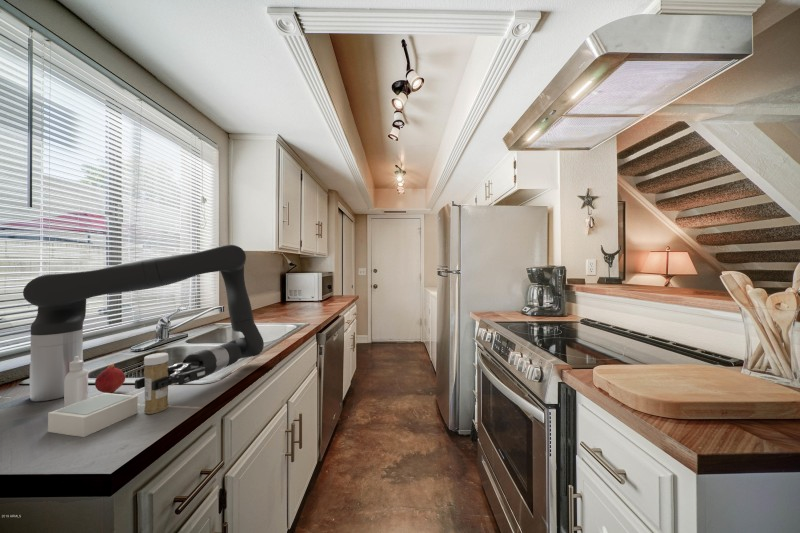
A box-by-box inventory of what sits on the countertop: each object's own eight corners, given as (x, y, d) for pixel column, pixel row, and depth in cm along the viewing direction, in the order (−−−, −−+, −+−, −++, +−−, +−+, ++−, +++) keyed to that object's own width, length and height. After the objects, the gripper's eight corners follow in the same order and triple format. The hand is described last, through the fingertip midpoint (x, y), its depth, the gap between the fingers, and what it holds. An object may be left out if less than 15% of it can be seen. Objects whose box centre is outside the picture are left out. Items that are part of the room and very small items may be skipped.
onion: (105, 399, 75) (105, 369, 75) (89, 397, 77) (89, 367, 77) (130, 390, 81) (130, 362, 81) (114, 388, 82) (114, 360, 82)
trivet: (47, 431, 60) (48, 412, 60) (105, 409, 70) (105, 392, 70) (84, 437, 58) (84, 416, 58) (137, 412, 68) (137, 395, 68)
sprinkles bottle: (167, 410, 69) (167, 355, 69) (142, 416, 66) (142, 358, 66) (169, 403, 73) (169, 350, 73) (145, 408, 70) (145, 354, 70)
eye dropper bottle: (96, 398, 76) (96, 353, 76) (71, 408, 70) (71, 360, 70) (81, 398, 76) (81, 353, 76) (54, 408, 71) (54, 359, 71)
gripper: (186, 348, 85) (120, 367, 68) (228, 350, 82) (169, 371, 66) (186, 373, 85) (120, 399, 68) (228, 376, 82) (169, 404, 65)
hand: (144, 385), depth 67 cm, fingers closed on sprinkles bottle, 4 cm apart
